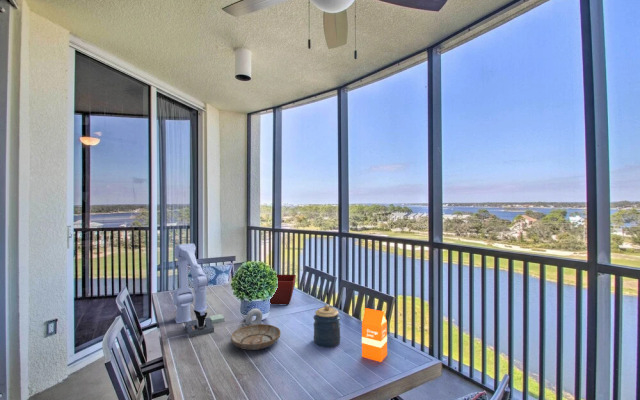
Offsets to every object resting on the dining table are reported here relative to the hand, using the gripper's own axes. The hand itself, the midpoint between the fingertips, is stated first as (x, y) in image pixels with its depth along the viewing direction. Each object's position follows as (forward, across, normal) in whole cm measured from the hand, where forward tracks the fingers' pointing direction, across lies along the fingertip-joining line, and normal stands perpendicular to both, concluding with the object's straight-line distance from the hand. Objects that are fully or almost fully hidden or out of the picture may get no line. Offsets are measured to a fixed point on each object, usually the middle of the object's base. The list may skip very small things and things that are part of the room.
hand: (200, 325), depth 156 cm
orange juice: (+3, -66, -62) cm, 91 cm away
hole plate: (+3, +3, 0) cm, 4 cm away
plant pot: (+3, +23, -55) cm, 60 cm away
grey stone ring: (+3, -9, -26) cm, 28 cm away
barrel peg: (+1, 0, 0) cm, 1 cm away
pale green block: (+3, +11, -10) cm, 16 cm away
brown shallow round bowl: (+4, -28, -21) cm, 35 cm away
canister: (+3, -44, -51) cm, 67 cm away
